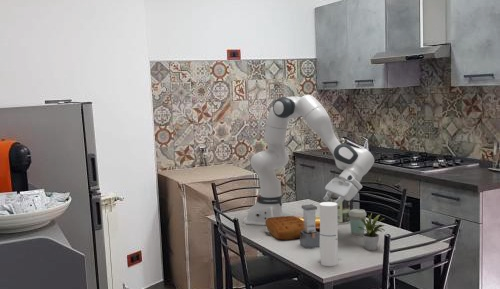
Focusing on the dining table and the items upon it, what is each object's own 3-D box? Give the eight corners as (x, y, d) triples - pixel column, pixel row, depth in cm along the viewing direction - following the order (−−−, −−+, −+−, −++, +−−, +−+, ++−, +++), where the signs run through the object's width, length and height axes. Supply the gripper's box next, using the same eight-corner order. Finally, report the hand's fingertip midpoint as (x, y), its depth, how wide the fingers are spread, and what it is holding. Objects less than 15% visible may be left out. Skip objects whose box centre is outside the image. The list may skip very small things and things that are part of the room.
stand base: (303, 253, 220) (302, 236, 220) (292, 245, 232) (292, 228, 231) (327, 250, 224) (327, 232, 223) (316, 242, 235) (315, 226, 235)
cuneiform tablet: (263, 231, 255) (263, 216, 255) (295, 228, 260) (295, 213, 259) (277, 244, 234) (277, 227, 233) (312, 240, 239) (311, 224, 238)
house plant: (356, 254, 218) (356, 217, 216) (349, 244, 231) (349, 209, 230) (389, 253, 218) (389, 216, 216) (380, 243, 232) (380, 208, 230)
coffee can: (348, 218, 275) (348, 193, 274) (351, 223, 265) (351, 197, 263) (329, 219, 276) (329, 193, 274) (332, 224, 265) (331, 198, 264)
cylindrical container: (316, 262, 209) (316, 203, 206) (329, 259, 213) (329, 201, 210) (328, 267, 203) (327, 206, 200) (341, 263, 207) (341, 204, 204)
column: (306, 247, 225) (306, 208, 222) (302, 244, 230) (301, 205, 227) (317, 246, 226) (317, 206, 224) (312, 243, 231) (312, 204, 229)
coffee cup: (366, 237, 241) (366, 213, 239) (348, 237, 243) (348, 212, 241) (366, 232, 249) (366, 208, 248) (348, 232, 251) (348, 208, 249)
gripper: (333, 171, 239) (315, 193, 238) (355, 178, 220) (335, 202, 218) (342, 180, 241) (323, 202, 240) (364, 187, 222) (344, 211, 220)
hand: (329, 202), depth 229 cm, fingers open, 8 cm apart
